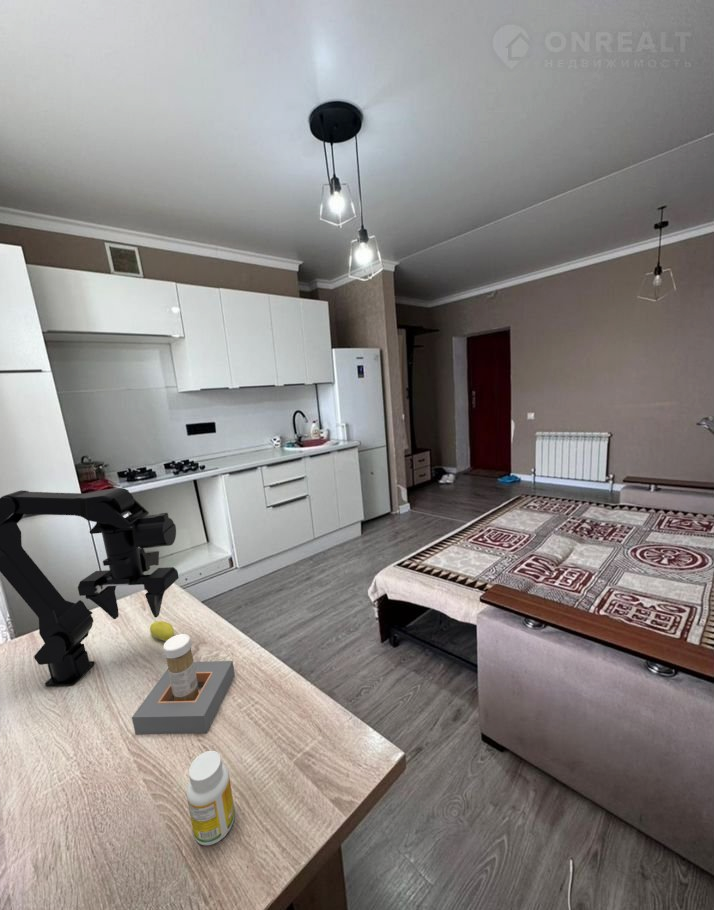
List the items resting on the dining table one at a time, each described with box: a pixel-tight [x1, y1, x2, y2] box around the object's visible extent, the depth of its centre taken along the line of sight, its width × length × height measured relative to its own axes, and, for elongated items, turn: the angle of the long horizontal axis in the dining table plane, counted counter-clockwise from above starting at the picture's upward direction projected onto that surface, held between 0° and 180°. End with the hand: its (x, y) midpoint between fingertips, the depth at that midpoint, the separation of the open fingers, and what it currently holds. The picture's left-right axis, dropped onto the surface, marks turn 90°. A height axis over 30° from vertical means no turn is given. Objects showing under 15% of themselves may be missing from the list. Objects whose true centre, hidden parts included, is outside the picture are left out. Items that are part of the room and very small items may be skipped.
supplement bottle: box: [185, 750, 236, 846], centre depth 50 cm, size 5×5×10 cm
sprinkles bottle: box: [163, 633, 200, 701], centre depth 70 cm, size 5×5×13 cm
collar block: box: [131, 660, 236, 735], centre depth 71 cm, size 13×13×4 cm
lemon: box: [149, 620, 175, 642], centre depth 92 cm, size 4×8×4 cm, turn 53°
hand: (136, 617), depth 80 cm, fingers open, 9 cm apart
